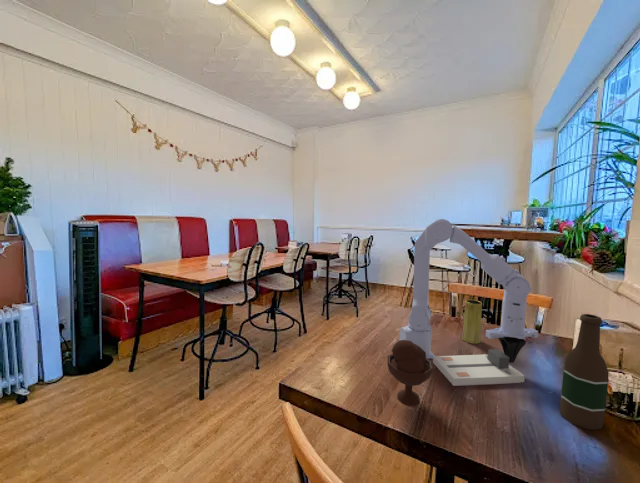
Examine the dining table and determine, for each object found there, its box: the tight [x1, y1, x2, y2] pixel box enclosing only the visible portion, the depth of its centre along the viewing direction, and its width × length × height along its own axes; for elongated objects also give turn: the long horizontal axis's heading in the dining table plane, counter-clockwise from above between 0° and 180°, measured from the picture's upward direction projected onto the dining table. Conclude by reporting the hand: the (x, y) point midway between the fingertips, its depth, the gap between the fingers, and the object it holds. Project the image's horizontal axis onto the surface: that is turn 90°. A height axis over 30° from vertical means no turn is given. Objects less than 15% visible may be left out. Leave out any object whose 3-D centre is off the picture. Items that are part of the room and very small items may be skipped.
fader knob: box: [487, 348, 510, 368], centre depth 85 cm, size 3×5×3 cm, turn 5°
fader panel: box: [432, 353, 526, 387], centre depth 85 cm, size 20×12×2 cm, turn 95°
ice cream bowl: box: [386, 340, 434, 406], centre depth 73 cm, size 11×11×15 cm
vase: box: [461, 299, 483, 345], centre depth 105 cm, size 6×6×14 cm
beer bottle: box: [559, 313, 609, 431], centre depth 65 cm, size 8×8×24 cm
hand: (509, 360), depth 86 cm, fingers closed
